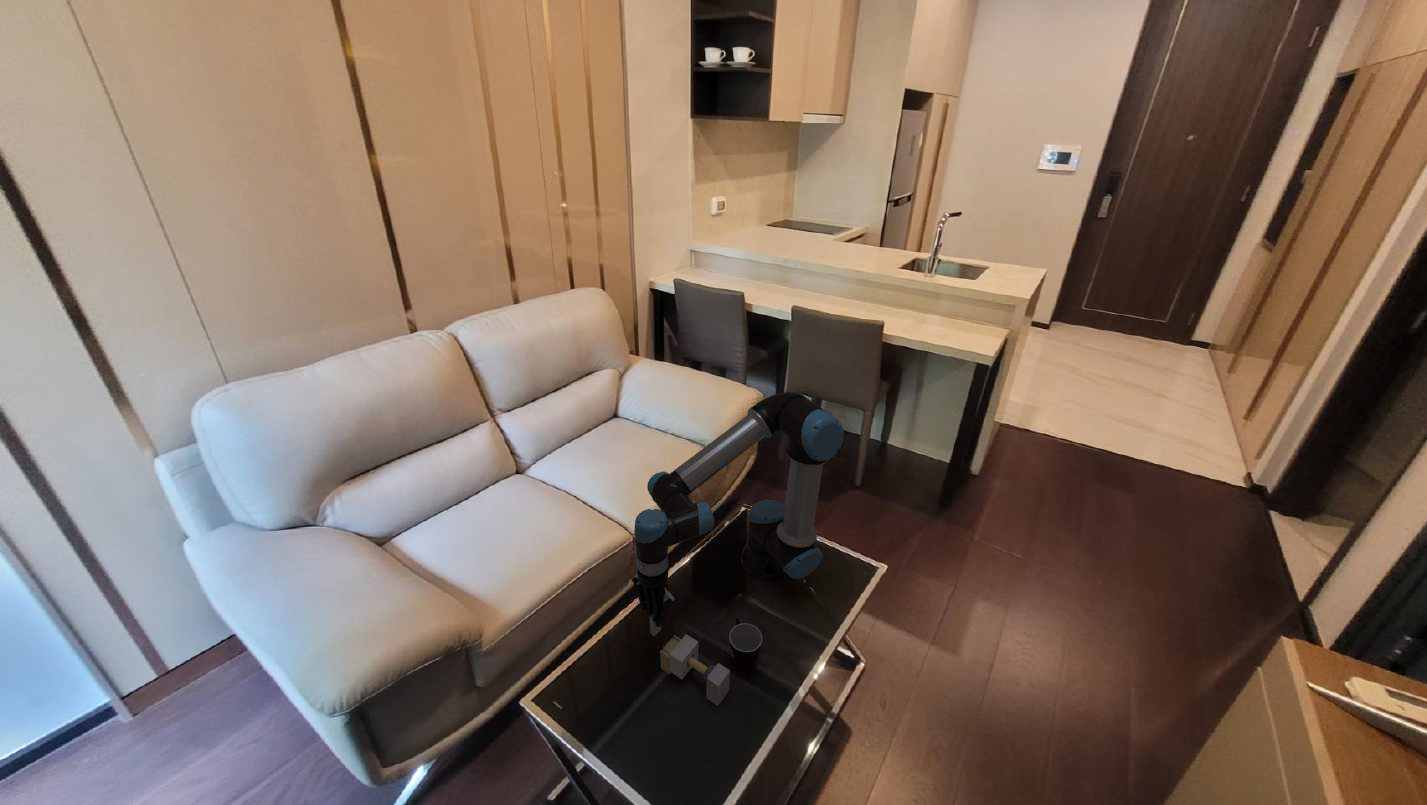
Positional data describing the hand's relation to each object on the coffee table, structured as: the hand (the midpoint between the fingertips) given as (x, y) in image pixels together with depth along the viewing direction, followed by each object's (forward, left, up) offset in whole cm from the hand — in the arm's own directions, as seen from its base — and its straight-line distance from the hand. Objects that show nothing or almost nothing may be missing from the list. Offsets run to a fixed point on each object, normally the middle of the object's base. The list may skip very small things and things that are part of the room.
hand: (655, 631), depth 138 cm
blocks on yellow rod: (0, +13, -9) cm, 16 cm away
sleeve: (0, +9, -6) cm, 11 cm away
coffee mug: (-13, +20, -9) cm, 26 cm away
